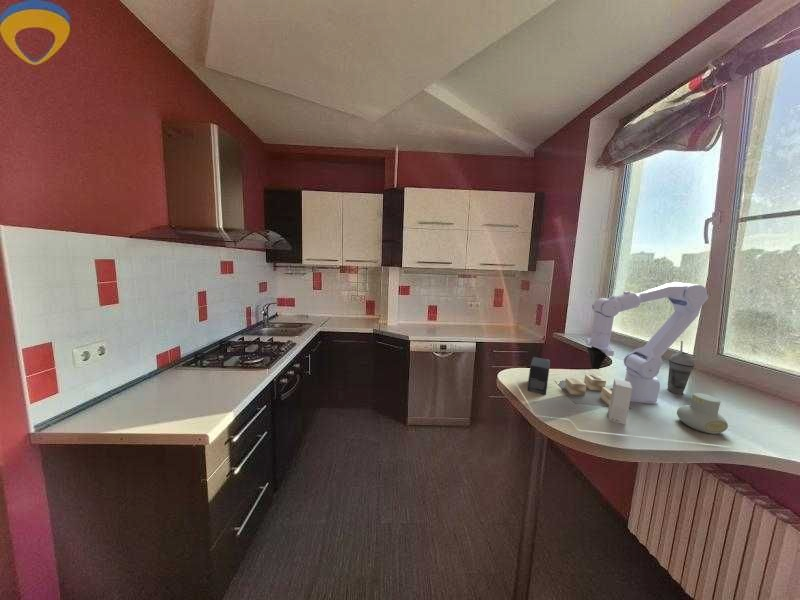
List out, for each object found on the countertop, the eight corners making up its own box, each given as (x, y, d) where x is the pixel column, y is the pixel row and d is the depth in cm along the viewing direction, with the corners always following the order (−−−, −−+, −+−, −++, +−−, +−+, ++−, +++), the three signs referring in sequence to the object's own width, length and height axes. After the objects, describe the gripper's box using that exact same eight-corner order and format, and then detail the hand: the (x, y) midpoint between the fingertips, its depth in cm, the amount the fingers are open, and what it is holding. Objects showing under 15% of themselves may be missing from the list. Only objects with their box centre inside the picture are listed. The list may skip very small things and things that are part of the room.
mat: (600, 384, 118) (600, 383, 118) (631, 410, 99) (631, 408, 99) (552, 380, 120) (552, 379, 119) (574, 404, 101) (574, 403, 101)
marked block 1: (597, 385, 116) (598, 375, 116) (604, 391, 111) (606, 380, 111) (583, 383, 117) (585, 373, 116) (590, 389, 112) (592, 379, 111)
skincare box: (625, 425, 89) (633, 388, 87) (608, 421, 92) (615, 384, 90) (623, 416, 95) (630, 381, 92) (607, 412, 97) (613, 377, 95)
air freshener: (702, 420, 95) (709, 391, 93) (731, 436, 87) (739, 405, 85) (669, 419, 95) (675, 390, 93) (695, 435, 86) (702, 403, 85)
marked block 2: (615, 398, 106) (617, 387, 105) (624, 406, 101) (626, 394, 100) (600, 397, 106) (602, 386, 105) (608, 404, 101) (610, 393, 100)
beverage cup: (686, 397, 111) (698, 346, 107) (661, 389, 116) (671, 340, 113) (689, 392, 116) (700, 342, 112) (664, 385, 121) (674, 337, 118)
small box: (529, 381, 118) (532, 356, 116) (547, 385, 115) (551, 359, 113) (526, 391, 109) (529, 364, 107) (546, 396, 106) (550, 368, 104)
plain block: (578, 389, 112) (579, 379, 111) (584, 395, 107) (586, 385, 106) (564, 387, 112) (565, 377, 112) (570, 393, 108) (571, 383, 107)
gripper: (579, 326, 113) (574, 359, 116) (600, 336, 99) (593, 375, 101) (599, 327, 113) (593, 361, 115) (623, 338, 98) (615, 377, 101)
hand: (595, 368), depth 108 cm, fingers closed
